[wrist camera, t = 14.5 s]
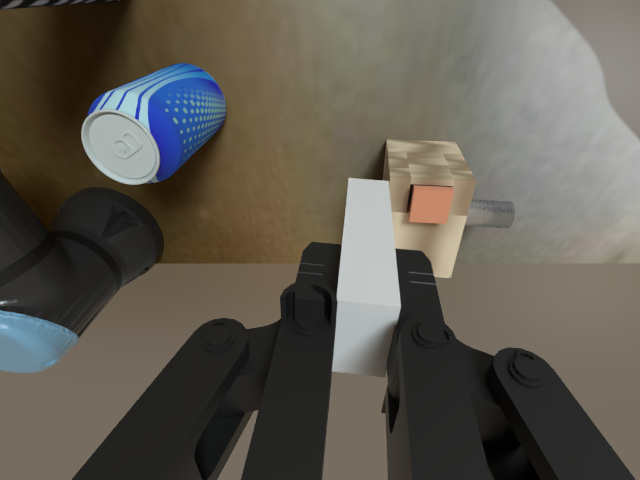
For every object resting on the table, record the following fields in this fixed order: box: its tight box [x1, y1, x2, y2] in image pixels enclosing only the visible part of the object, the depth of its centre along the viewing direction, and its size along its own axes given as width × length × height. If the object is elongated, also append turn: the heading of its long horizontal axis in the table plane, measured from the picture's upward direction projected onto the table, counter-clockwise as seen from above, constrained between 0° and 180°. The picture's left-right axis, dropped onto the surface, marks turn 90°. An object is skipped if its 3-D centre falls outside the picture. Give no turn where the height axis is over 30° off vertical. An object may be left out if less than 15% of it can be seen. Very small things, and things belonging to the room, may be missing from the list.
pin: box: [408, 196, 514, 228], centre depth 42 cm, size 16×5×5 cm, turn 90°
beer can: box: [81, 63, 226, 185], centre depth 37 cm, size 8×8×16 cm
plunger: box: [408, 184, 454, 224], centre depth 38 cm, size 4×4×8 cm
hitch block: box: [382, 139, 476, 278], centre depth 42 cm, size 8×12×10 cm, turn 0°
